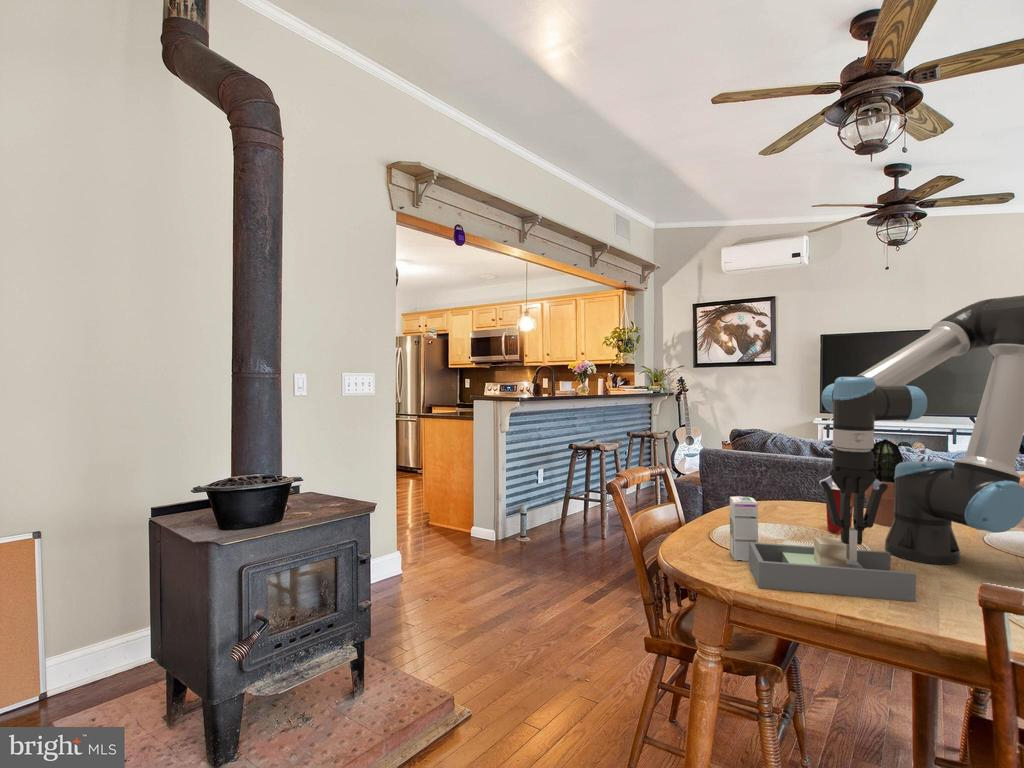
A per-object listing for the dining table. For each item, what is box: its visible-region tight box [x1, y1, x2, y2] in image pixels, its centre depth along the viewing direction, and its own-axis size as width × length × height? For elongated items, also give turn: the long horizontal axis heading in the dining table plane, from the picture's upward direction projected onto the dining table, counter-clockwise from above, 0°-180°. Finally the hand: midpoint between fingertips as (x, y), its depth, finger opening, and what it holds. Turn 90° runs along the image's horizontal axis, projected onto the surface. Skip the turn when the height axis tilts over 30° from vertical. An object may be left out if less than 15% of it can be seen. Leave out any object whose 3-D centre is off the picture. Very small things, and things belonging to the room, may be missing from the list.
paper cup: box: [825, 482, 854, 536], centre depth 161 cm, size 8×8×14 cm
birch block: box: [813, 536, 846, 567], centre depth 124 cm, size 5×5×5 cm
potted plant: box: [865, 438, 904, 527], centre depth 170 cm, size 14×14×25 cm
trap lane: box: [748, 542, 917, 602], centre depth 124 cm, size 29×14×6 cm, turn 75°
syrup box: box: [729, 495, 759, 562], centre depth 140 cm, size 6×6×14 cm
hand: (851, 558), depth 123 cm, fingers closed
